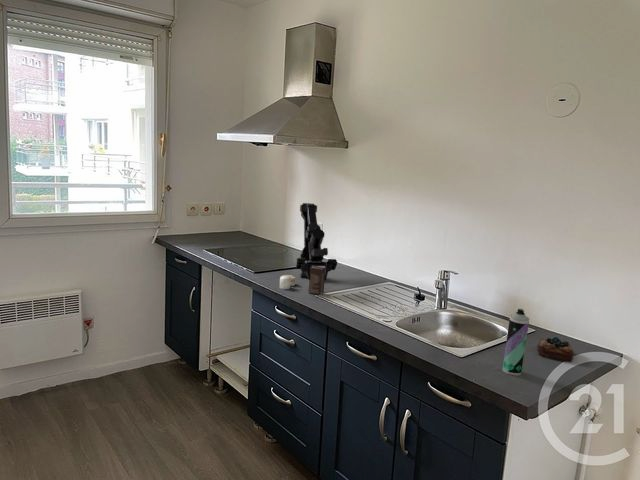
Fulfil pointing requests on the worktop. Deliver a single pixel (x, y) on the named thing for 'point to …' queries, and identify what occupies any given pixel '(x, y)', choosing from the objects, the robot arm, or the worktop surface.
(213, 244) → the worktop surface
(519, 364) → the spray can
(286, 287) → the plastic cylinder
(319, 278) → the box
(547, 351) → the pastry
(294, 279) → the birch block
